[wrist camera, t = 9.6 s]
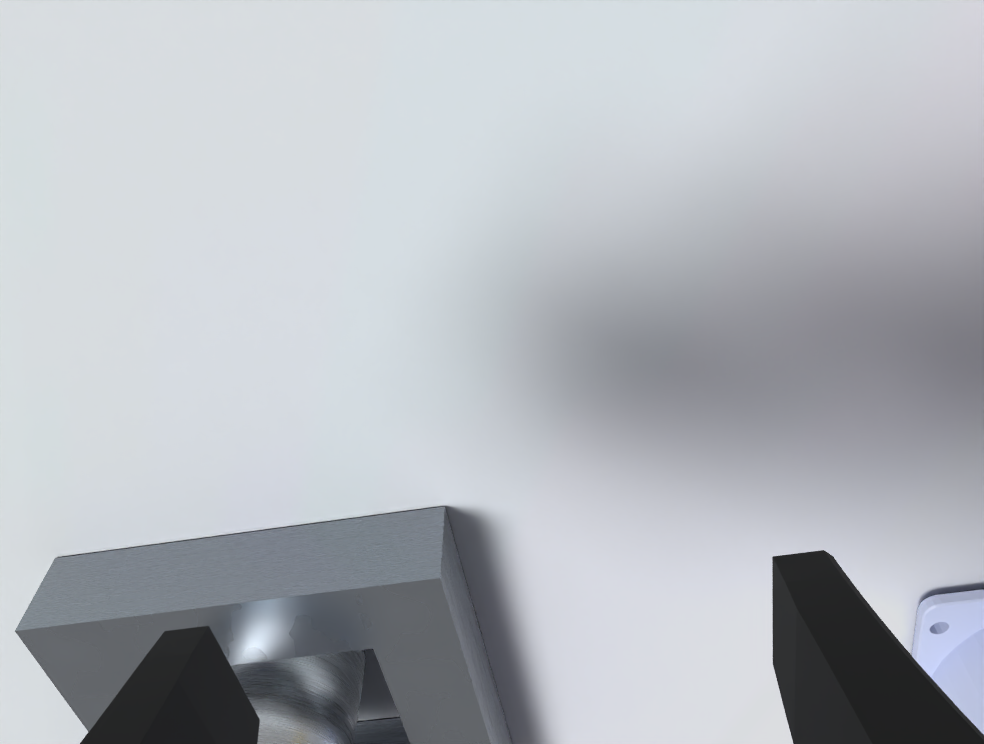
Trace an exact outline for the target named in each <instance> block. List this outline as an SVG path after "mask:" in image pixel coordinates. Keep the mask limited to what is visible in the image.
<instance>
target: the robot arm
mask: <svg viewBox="0 0 984 744" xmlns="http://www.w3.org/2000/svg"><path fill="white" fill-rule="evenodd" d="M773 666H774V670H775V674H776V678H777V681H778V685H779V689H780V693H781V697H782V701H783V705H784V709H785V713H786V717H787V720H788V724H789V728H790V732H791V736H792V739H793V743H794V744H984V589H982V590H973V591H965V592H956V593H948V594H939V595H934V596H930V597H928V598H926V599H925V600H923V601H922V602H921V603H920V605H919V607H918V612H917V619H916V627H915V634H914V642H913V649H912V656H911V655H910V653H909V652H908V651H907V650H906V649H905V648H904V646H903V645H902V644H901V643H900V642H899V641H898V639H897V638H896V637H895V636H894V635H893V633H892V632H891V631H890V630H889V628H888V627H887V626H886V625H885V624H884V622H883V621H882V620H881V619H880V618H879V616H878V615H877V614H876V613H875V611H874V610H873V609H872V608H871V606H870V605H869V604H868V603H867V601H866V600H865V599H864V598H863V596H862V595H861V594H860V592H859V591H858V590H857V589H856V587H855V586H854V585H853V583H852V582H851V581H850V579H849V578H848V577H847V575H846V574H845V573H844V571H843V570H842V568H841V567H840V566H839V564H838V563H837V562H836V560H835V559H834V557H833V556H832V555H830V554H829V553H827V552H826V551H824V550H823V551H815V552H806V553H798V554H790V555H782V556H774V557H773ZM259 724H260V719H259V717H258V715H257V714H256V712H255V710H254V708H253V706H252V704H251V703H250V701H249V699H248V697H247V695H246V693H245V691H244V690H243V688H242V686H241V684H240V682H239V680H238V679H237V677H236V675H235V673H234V671H233V669H232V667H231V666H230V664H229V662H228V660H227V658H226V656H225V655H224V653H223V651H222V649H221V647H220V645H219V643H218V642H217V640H216V638H215V636H214V634H213V632H212V630H211V629H210V627H209V626H202V627H194V628H186V629H178V630H169V631H164V633H163V634H162V635H161V637H160V638H159V639H158V640H157V642H156V643H155V644H154V646H153V647H152V648H151V650H150V651H149V652H148V654H147V655H146V656H145V658H144V659H143V660H142V661H141V663H140V664H139V665H138V667H137V668H136V669H135V671H134V672H133V673H132V675H131V676H130V677H129V679H128V680H127V681H126V683H125V684H124V685H123V687H122V688H121V690H120V691H119V692H118V694H117V695H116V696H115V698H114V699H113V700H112V702H111V703H110V704H109V706H108V707H107V708H106V710H105V711H104V712H103V714H102V715H101V716H100V718H99V719H98V720H97V722H96V723H95V724H94V726H93V727H92V728H91V730H90V731H89V732H88V734H87V735H86V736H85V738H84V739H83V740H82V742H81V743H80V744H257V742H258V733H259Z"/></svg>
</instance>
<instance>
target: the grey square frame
mask: <svg viewBox="0 0 984 744" xmlns="http://www.w3.org/2000/svg"><path fill="white" fill-rule="evenodd" d="M202 626H209V627H210V629H211V630H212V632H213V634H214V636H215V638H216V640H217V642H218V643H219V645H220V647H221V649H222V651H223V653H224V655H225V656H226V658H227V660H228V662H229V664H230V665H237V664H245V663H254V662H262V661H271V660H279V659H288V658H296V657H305V656H313V655H322V654H330V653H339V652H347V651H356V650H364V649H373V650H374V653H375V655H376V658H377V660H378V663H379V665H380V668H381V670H382V673H383V675H384V678H385V680H386V683H387V686H388V688H389V691H390V693H391V696H392V698H393V701H394V703H395V706H396V708H397V711H398V714H399V716H400V718H393V719H383V720H374V721H365V722H357V726H356V733H355V741H354V744H512V741H511V738H510V734H509V731H508V727H507V724H506V720H505V717H504V713H503V710H502V706H501V702H500V699H499V695H498V692H497V688H496V685H495V681H494V678H493V674H492V671H491V667H490V664H489V660H488V657H487V653H486V650H485V646H484V643H483V639H482V636H481V632H480V628H479V625H478V621H477V618H476V614H475V611H474V607H473V604H472V600H471V597H470V593H469V590H468V586H467V583H466V579H465V576H464V572H463V569H462V565H461V561H460V558H459V554H458V551H457V547H456V544H455V540H454V537H453V533H452V530H451V526H450V523H449V519H448V516H447V512H446V509H445V506H444V507H436V508H429V509H421V510H414V511H406V512H399V513H391V514H384V515H376V516H369V517H361V518H354V519H346V520H339V521H331V522H324V523H316V524H309V525H301V526H294V527H286V528H279V529H271V530H264V531H256V532H248V533H241V534H233V535H226V536H218V537H211V538H203V539H196V540H188V541H181V542H173V543H166V544H158V545H151V546H143V547H136V548H128V549H121V550H113V551H106V552H98V553H91V554H83V555H75V556H68V557H60V558H55V559H54V561H53V563H52V565H51V567H50V568H49V570H48V572H47V574H46V576H45V578H44V579H43V581H42V583H41V585H40V587H39V588H38V590H37V592H36V594H35V596H34V597H33V599H32V601H31V603H30V605H29V607H28V608H27V610H26V612H25V614H24V616H23V617H22V619H21V621H20V623H19V625H18V627H17V628H16V630H15V632H16V633H17V634H18V636H19V637H20V639H21V640H22V641H23V643H24V644H25V645H26V647H27V648H28V650H29V651H30V652H31V654H32V655H33V656H34V658H35V659H36V660H37V662H38V663H39V665H40V666H41V667H42V669H43V670H44V671H45V673H46V674H47V676H48V677H49V678H50V680H51V681H52V682H53V684H54V685H55V687H56V688H57V689H58V691H59V692H60V693H61V695H62V696H63V697H64V699H65V700H66V702H67V703H68V704H69V706H70V707H71V708H72V710H73V711H74V713H75V714H76V715H77V717H78V718H79V719H80V721H81V722H82V724H83V725H84V726H85V728H86V729H87V730H88V732H89V731H90V730H91V728H92V727H93V726H94V724H95V723H96V722H97V720H98V719H99V718H100V716H101V715H102V714H103V712H104V711H105V710H106V708H107V707H108V706H109V704H110V703H111V702H112V700H113V699H114V698H115V696H116V695H117V694H118V692H119V691H120V690H121V688H122V687H123V685H124V684H125V683H126V681H127V680H128V679H129V677H130V676H131V675H132V673H133V672H134V671H135V669H136V668H137V667H138V665H139V664H140V663H141V661H142V660H143V659H144V658H145V656H146V655H147V654H148V652H149V651H150V650H151V648H152V647H153V646H154V644H155V643H156V642H157V640H158V639H159V638H160V637H161V635H162V634H163V633H164V631H169V630H178V629H186V628H194V627H202Z"/></svg>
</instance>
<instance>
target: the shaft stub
mask: <svg viewBox="0 0 984 744" xmlns="http://www.w3.org/2000/svg"><path fill="white" fill-rule="evenodd" d="M230 666H231V667H232V669H233V671H234V673H235V675H236V677H237V679H238V680H239V682H240V684H241V686H242V688H243V690H244V691H245V693H246V695H247V697H248V699H249V701H250V703H251V704H252V706H253V708H254V710H255V712H256V714H257V715H258V717H259V719H260V724H259V733H258V742H257V744H354V741H355V733H356V726H357V719H358V712H359V705H360V698H361V691H362V684H363V677H364V670H365V654H364V650H356V651H347V652H339V653H330V654H322V655H313V656H305V657H296V658H288V659H279V660H271V661H262V662H254V663H245V664H237V665H230Z"/></svg>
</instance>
